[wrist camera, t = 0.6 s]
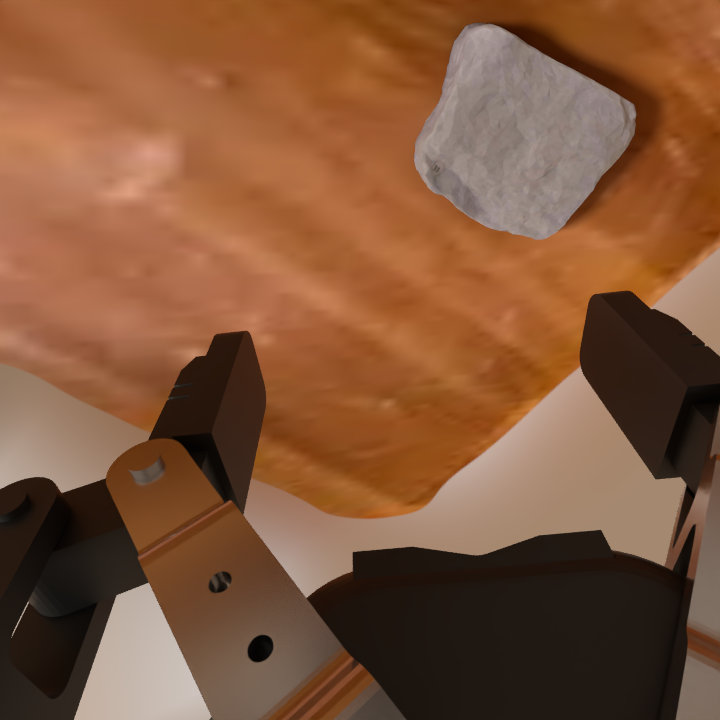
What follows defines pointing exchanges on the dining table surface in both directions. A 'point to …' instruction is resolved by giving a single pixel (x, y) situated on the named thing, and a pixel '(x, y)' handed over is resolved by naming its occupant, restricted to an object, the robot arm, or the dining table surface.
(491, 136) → the stone block
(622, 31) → the dining table surface
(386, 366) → the dining table surface
